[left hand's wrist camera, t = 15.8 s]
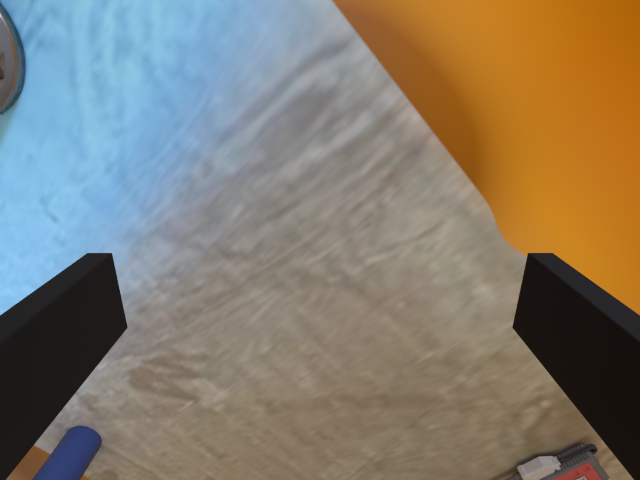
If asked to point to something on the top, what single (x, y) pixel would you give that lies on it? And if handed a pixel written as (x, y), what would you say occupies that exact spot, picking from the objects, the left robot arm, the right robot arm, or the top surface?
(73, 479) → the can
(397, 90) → the top surface
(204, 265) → the top surface
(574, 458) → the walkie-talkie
